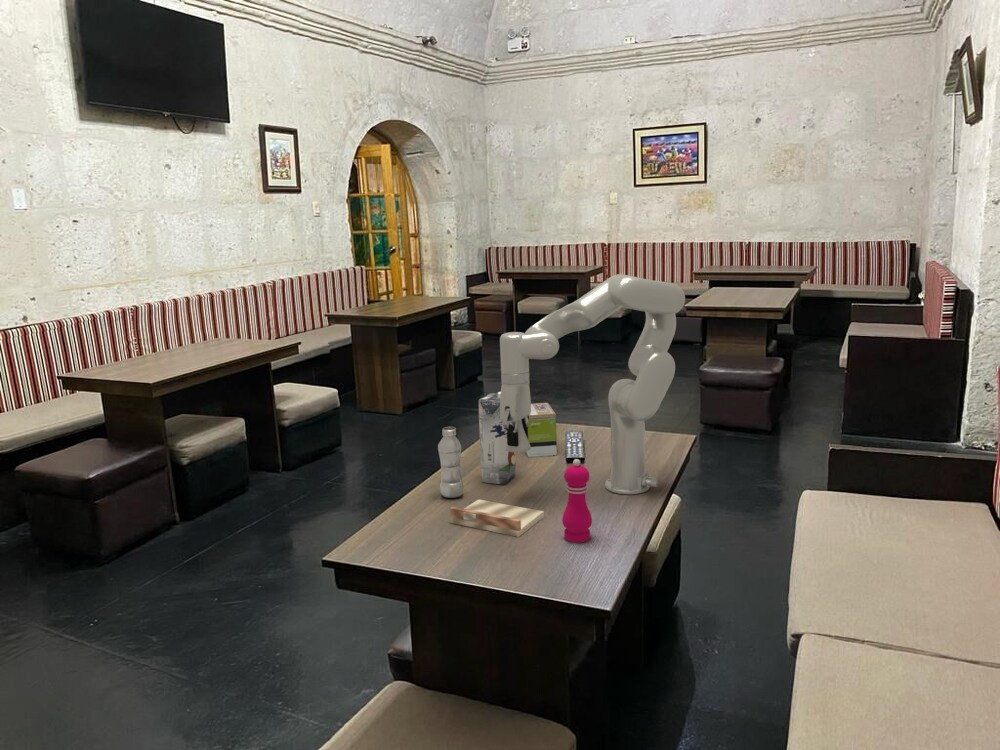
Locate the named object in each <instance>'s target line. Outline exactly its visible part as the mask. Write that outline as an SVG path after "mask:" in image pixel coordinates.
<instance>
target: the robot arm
mask: <svg viewBox="0 0 1000 750" xmlns="http://www.w3.org/2000/svg"><path fill="white" fill-rule="evenodd" d="M685 302H686V294H685V292H684V290H683V289H682V288H681V287H680V286H679V285H678V284H676V283H672V282H666V281H663V280H652V279H646V278H642V277H638V276H633V275H628V274H623V273H619V274H618V273H617V274H615V275H611V277H610V276H609V278H607V279H605V280H604V281H602V282H601V283H600V284H598V285H597V286H595V287H594V288H593V289H591V290H590V291H588V292H587V293H585V294H583V295H582V296H580V298H578V299H576V300H574V301H573V302H571V303H569V304H566V305H565V306H562V307H561V308H559V309H557V310H555V311H553V312H551V313H549V314H548V315H546V316H544V317H543V318H541V319H540V320H539V321H537V322H536V323H534V324H533V325H531V326H530V327H529V328H527V330H525V332H520V331H510V332H503V334H501V336H500V337H499V348H500V349H499V350H500V354H499V355H500V371H501V372H500V373H501V374H500V375H501V376H500V377H501V386H500V388H501V389H500V392H501V394H500V419H501V421H502V425H503V426H504V427H505V429H506V432H507V445H508V446H515V447H517V446H519V442H518V432H517V422H518V421H519V420H521V419H522V425H523V428H524V431H525V434H526V436H527V439H528V427H526V426H528V424H529V423H528V419H529V415H530V413H531V404H532V400H531V399H532V398H531V391H530V390H531V389H530V363H529V362H530V361H529V360H549V359H552V358H553V357H554V356H556V355H557V354H558V352H559V350H560V344H559V343H560V342H559V339H560V338H563V337H564V336H565V335H568V334H570V333H574V332H578V331H584V330H588V329H591V328H593V327H596V326H597V325H598V324H599V323H600V322H602V321H604V320H605V319H607V318H608V317H610V316H611V315H613V314H614V313H615V312H617V311H618V310H620V309H621V308H625V309H629V310H630V309H631V310H634V311H640V312H645V323H644V327H643V330H642V332H641V334H640V336H639V338H638V340H637V342H636V344H635V347H634V348H633V350H632V352H631V354H630V356H629V358H628V369H629V371H630V372H631V374H633V375H634V376H636V379H635V380H633V379H632V378H622V379H619V380H617V381H615V382H614V383H612V385H611V387H610V388H609V391H608V400H607V401H608V409H609V415H610V478H608V479H607V480H606V481H604V482H605V483H604V485H605V488H606V490H607V491H610V492H612V493H615V494H620V495H638V494H642V493H645V492H647V491H649V490H650V487H652V488H658V487H659V480H658V479H657V478H656V477H649V476H648V471H645V449H646V448H645V440H646V439H645V436H646V427H645V426H646V424H645V421H647V420H649V419H651V418H652V417H653V416H654V415H655V414H656V412H657V411H658V410H659V408H660V406H661V403H662V402H663V400H664V398H665V396H666V393H667V392H668V390H669V388H670V386H671V384H672V381H673V379H674V377H675V373H676V372H675V371H676V364H675V359H674V357H673V356H672V355H671V354H670V353H669V352H668V350H669V349H670V346H671V343H672V341H673V338H674V336H675V333H676V329H677V317H676V314H677V313H679V312H680V311H681V310H682V309H683V308H684V306H685ZM510 418H512V419H513V421H511V420H510ZM510 423H514V425H513V426H512V425H511V424H510Z"/></svg>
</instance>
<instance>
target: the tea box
mask: <svg viewBox="0 0 1000 750" xmlns="http://www.w3.org/2000/svg"><path fill="white" fill-rule="evenodd" d="M528 423H529V424H528V426H526V427H528V441H529V444H530V447H531V449H530V450H528V451H526V452H525V453H526V455H527V457H528V458H541V456H542V458H543V457H554V456H553V455H555V456H557V455H558V453H557V452H558V450H557V449H558V447H557V445H558V443H557V441H558V440H557V438H558V437H557V414H556V412H555V411H554V409H553V408H552V406H551V405H550V404H549V402H540V403H539V402H538V403H531V413H530V415H529V419H528Z"/></svg>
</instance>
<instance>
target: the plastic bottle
mask: <svg viewBox="0 0 1000 750" xmlns="http://www.w3.org/2000/svg"><path fill="white" fill-rule="evenodd" d="M456 430H457V428H456V427H454V426H445V427H443V428H442V433H441V434H442V435H441V436H443V437H442V438H441V439H440V441H439V442H438V444H437V450H438V455H439V460H440V469H441V471H440V472H441V473H440V485H439V490H440V494H441V495H442V496H443V497H445V498H448V499H455V498H460V497H461V496H462V495H463V493H464V489H465V488H464V483H463V478H462V473H461V472H462V471H461V456H462V455H461V454H462V444H461V442H460V440H459V439H458V438H457V437H456V435H457V431H456Z"/></svg>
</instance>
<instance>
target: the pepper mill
mask: <svg viewBox="0 0 1000 750" xmlns="http://www.w3.org/2000/svg"><path fill="white" fill-rule="evenodd" d="M572 464H573V465H572ZM572 464H571V465H569V466H568V467H566V469H565V470H564V475H563V478H564V481H565V482H566V483H567V484H566V492H567V493H568V497H567V504H566V506H565V508H564V511H563V514H562V519H561V522H562V525H563V526H564V528H565V529H564V531H563V532H564V534H563V535H564V539H565V540H566V541H569V542H570V543H578V544H579V543H585V542H588V541H589V540H590V538H591V530H590V529H589V528H591V526H592V524H593V517H592V513H591V512H590V509H589V507H588V504H587V500H586V493H587V492H588V484H587V483H588V482H589V481H590V472H589V469H588V468H586V467H585V466H584V465H582V464H581V460H580V459H578V458H575V459H574V460H573V462H572Z"/></svg>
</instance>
